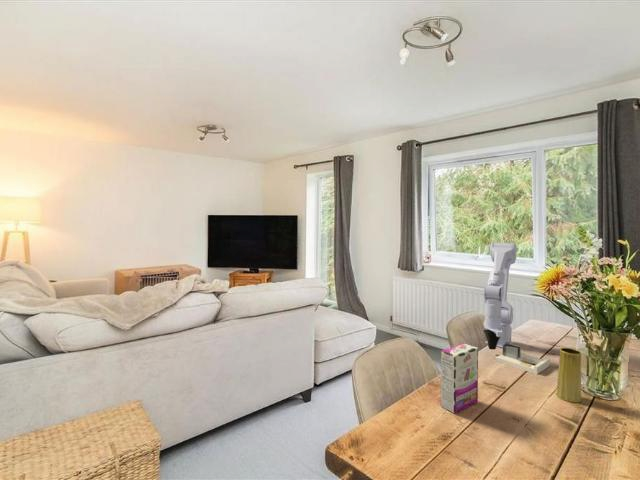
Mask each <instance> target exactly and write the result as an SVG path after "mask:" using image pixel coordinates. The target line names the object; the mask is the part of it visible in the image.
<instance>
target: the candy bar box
mask: <svg viewBox="0 0 640 480" xmlns="http://www.w3.org/2000/svg"><path fill="white" fill-rule="evenodd" d="M478 385H479V347H477V346H474V345H472V344H471V345H470V344H468V343H462V344H458V345H455V346H451V347H449V348H447V349H443V350H440V407H441V408H443V409H444V410H447V411H448V412H450V413H451V414H454V415H456V414H458V413H460V412H462V411H464V410H466V409H468V408H470V407H471V406H473V405H475V404H478V401H479V400H478V398H479V396H478V394H479V386H478Z"/></svg>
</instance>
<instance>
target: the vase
mask: <svg viewBox="0 0 640 480" xmlns="http://www.w3.org/2000/svg"><path fill="white" fill-rule="evenodd" d="M558 365H559V366H558V370H557V373H558V374H557V381H556V382H557V384H556V385H557V387H556V396H557V398H560V399H561V400H562V401H566V402H570V403H580V402H581V401H582V352H581V351H580V350H578V349H575V348H572V347H571V348H570V347H561V348H560V349H559V364H558Z"/></svg>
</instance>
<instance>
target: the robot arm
mask: <svg viewBox="0 0 640 480" xmlns="http://www.w3.org/2000/svg"><path fill="white" fill-rule="evenodd" d="M517 247H518V245H517V244H516V243H515V242H511V243H509V242H494V241H493V242H491V243H490V247H489V254H490V257H491V261H492V262H493V268H492V269H493V270H490V271H489V275H488V279H487V283H486V285H485V286H484V288H483V297H484V299H483V300H484V304H485V307H484V312H485V313H484V320H483V327H484V329H483V332H484V334H485V335H484V336H485V338H486V341H485V344H487V345H488V349H489V350H493V351H494V350H496V349H497V347H499V348H502V349H503V345H504V344H505V342H510V344H514V341H512V332H513V329H512V327H511V324H513V319H514V308H513V306H512V304H511V303H509V302H508V301H507V298H508V297H507V295H508V287H509V285H508V284H509V274H510V268H511V265H513V264H516V260H517V252H518V248H517Z"/></svg>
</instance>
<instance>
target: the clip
mask: <svg viewBox="0 0 640 480" xmlns="http://www.w3.org/2000/svg"><path fill="white" fill-rule="evenodd" d="M521 353H522V346H521V345H517V344H514V343H513V344H510V342H505V344H504V345H503V348H502V353H501V354H502V355H503V356H506V357H510V358H513V359H518V357H519V358H520V357H521Z"/></svg>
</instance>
